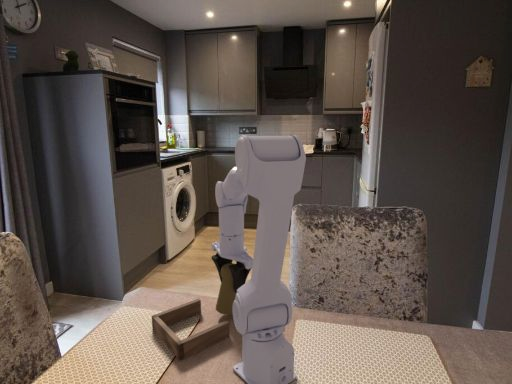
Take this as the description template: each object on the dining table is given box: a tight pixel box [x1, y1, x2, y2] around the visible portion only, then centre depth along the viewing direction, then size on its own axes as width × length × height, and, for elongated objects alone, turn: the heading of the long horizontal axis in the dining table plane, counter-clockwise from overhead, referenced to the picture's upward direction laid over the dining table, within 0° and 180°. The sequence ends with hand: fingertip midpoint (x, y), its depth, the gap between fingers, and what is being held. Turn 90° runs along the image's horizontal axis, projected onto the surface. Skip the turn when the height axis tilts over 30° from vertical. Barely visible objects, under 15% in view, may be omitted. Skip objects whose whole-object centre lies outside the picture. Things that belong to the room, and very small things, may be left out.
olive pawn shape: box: [215, 262, 237, 316], centre depth 80 cm, size 6×6×11 cm
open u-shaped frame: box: [151, 298, 230, 361], centre depth 74 cm, size 13×12×4 cm
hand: (232, 286), depth 80 cm, fingers closed on olive pawn shape, 5 cm apart
